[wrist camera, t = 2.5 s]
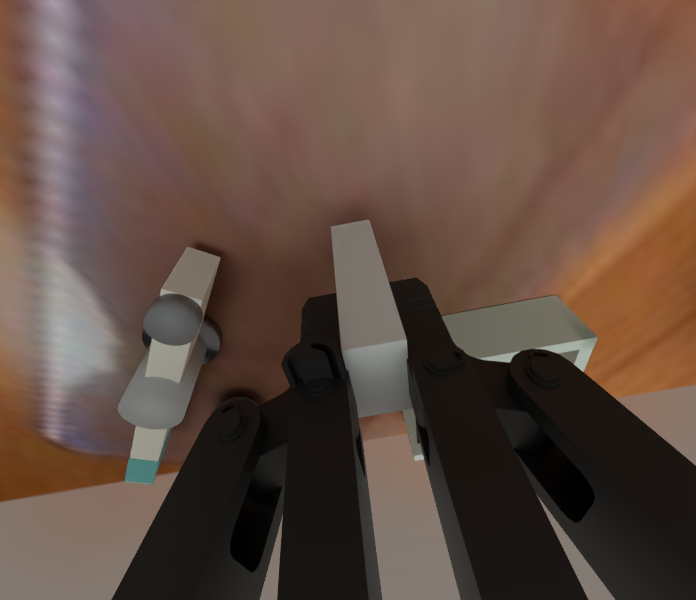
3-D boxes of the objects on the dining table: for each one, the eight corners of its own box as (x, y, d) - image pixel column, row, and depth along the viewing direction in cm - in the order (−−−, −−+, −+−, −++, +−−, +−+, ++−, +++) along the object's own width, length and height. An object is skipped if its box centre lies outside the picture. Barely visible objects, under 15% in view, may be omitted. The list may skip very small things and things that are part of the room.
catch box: (402, 414, 28) (414, 460, 25) (393, 324, 22) (407, 371, 19) (528, 392, 28) (556, 436, 25) (555, 294, 22) (598, 337, 18)
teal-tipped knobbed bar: (136, 430, 25) (106, 497, 21) (172, 240, 16) (131, 298, 12) (179, 436, 26) (157, 501, 22) (234, 261, 17) (214, 320, 13)
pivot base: (168, 364, 22) (165, 372, 22) (132, 315, 20) (126, 322, 19) (232, 352, 22) (230, 360, 22) (204, 301, 19) (201, 308, 19)
